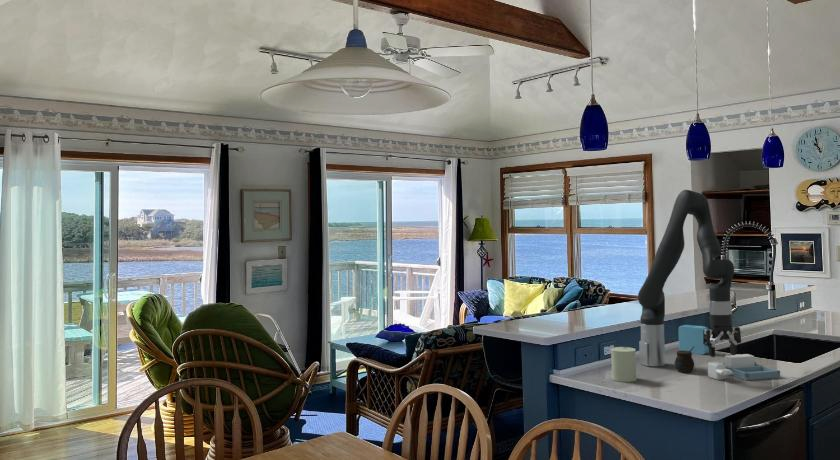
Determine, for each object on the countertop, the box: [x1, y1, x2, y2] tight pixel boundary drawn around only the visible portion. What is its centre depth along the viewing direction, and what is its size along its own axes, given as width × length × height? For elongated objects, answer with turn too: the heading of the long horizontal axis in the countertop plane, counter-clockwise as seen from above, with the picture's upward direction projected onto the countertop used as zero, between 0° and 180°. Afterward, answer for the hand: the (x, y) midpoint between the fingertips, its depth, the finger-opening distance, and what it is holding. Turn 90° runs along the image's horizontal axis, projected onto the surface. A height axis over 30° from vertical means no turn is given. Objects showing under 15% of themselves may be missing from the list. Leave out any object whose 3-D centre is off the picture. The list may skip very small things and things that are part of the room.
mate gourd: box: [674, 346, 695, 374], centre depth 252 cm, size 7×8×10 cm
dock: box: [721, 353, 781, 381], centre depth 245 cm, size 14×18×6 cm
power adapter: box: [707, 361, 736, 381], centre depth 237 cm, size 11×5×6 cm, turn 14°
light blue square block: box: [678, 324, 710, 356], centre depth 286 cm, size 12×4×12 cm, turn 41°
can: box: [610, 346, 637, 383], centre depth 243 cm, size 9×9×12 cm
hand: (722, 355), depth 237 cm, fingers open, 8 cm apart
